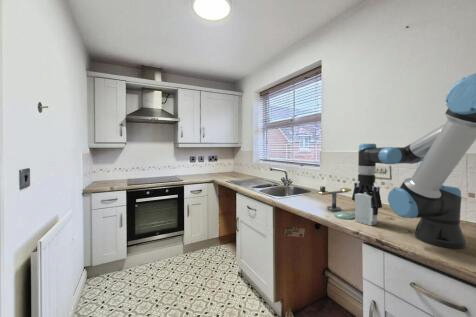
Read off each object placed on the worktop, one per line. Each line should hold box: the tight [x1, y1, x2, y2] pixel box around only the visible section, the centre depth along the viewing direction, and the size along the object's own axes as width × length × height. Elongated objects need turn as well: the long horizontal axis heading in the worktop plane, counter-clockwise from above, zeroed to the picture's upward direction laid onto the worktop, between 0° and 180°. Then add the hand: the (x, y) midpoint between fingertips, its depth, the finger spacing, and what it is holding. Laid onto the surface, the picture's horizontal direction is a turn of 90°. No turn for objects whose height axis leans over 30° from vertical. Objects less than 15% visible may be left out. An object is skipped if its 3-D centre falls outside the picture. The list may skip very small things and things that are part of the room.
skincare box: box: [354, 193, 378, 227], centre depth 107 cm, size 8×6×15 cm
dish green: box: [333, 211, 355, 221], centre depth 118 cm, size 10×10×1 cm
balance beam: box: [316, 186, 352, 196], centre depth 132 cm, size 6×22×5 cm, turn 101°
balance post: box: [326, 193, 342, 212], centre depth 132 cm, size 8×8×10 cm
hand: (365, 217), depth 108 cm, fingers closed on skincare box, 9 cm apart
